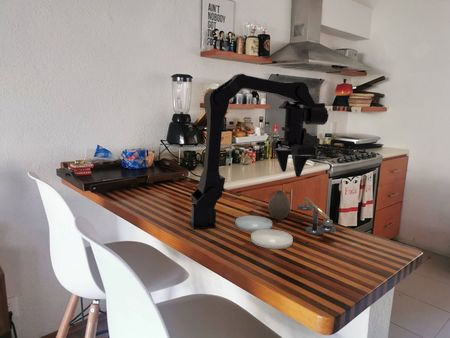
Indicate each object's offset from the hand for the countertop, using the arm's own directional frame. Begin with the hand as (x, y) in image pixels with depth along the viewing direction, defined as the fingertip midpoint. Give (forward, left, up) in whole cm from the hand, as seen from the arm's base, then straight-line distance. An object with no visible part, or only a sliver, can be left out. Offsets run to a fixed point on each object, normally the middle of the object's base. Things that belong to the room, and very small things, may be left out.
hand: (290, 174), depth 107 cm
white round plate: (-13, -4, -15) cm, 20 cm away
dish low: (-13, -16, -15) cm, 26 cm away
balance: (+2, -13, -15) cm, 20 cm away
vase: (-2, +2, -15) cm, 15 cm away
